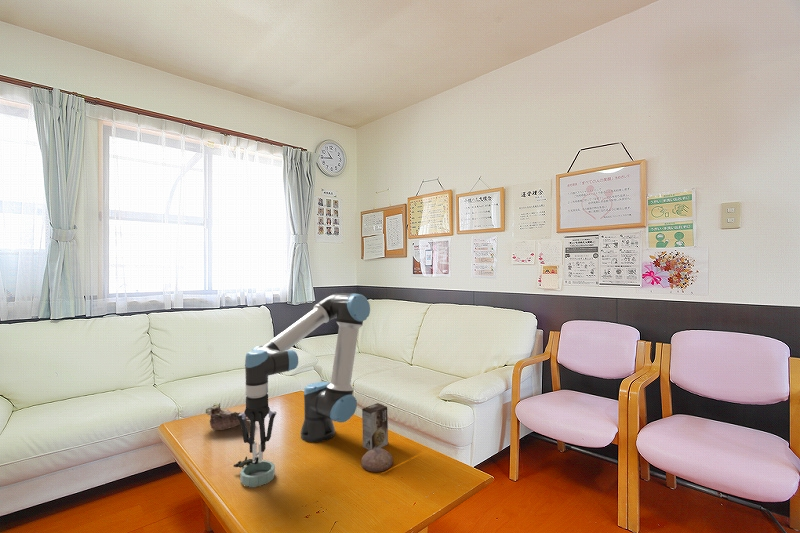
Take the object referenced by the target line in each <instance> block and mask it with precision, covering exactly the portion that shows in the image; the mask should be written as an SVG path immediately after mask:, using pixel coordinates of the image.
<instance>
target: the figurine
mask: <svg viewBox="0 0 800 533" xmlns="http://www.w3.org/2000/svg"><path fill="white" fill-rule="evenodd" d="M256 459H257V460H256ZM255 460H256V462H255V463H253V461H255ZM255 460H253V458H248V456H245V458H244V460H243V461H242V460H239V461H238V462H237V463H235V464H233V467H234V468H240V469H242V468H243V467H244V466H246V465H248V464H257V463H258V461H259V451H257V455H256V458H255Z"/></svg>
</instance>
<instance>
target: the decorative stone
mask: <svg viewBox="0 0 800 533" xmlns="http://www.w3.org/2000/svg"><path fill="white" fill-rule="evenodd" d="M393 460H394V459H393V456H392V454H391V453H390V452H389V451H388V450H387V449H384V448H383V447H381V448H374V449H371V450H367V451H366V452H365V454H363V455H362V457H361V460H360V462H361V467H362V468H363V469H364V470H366V471H368V472H373V473H375V472H384V471H386V470H388V469H389V468H391V467H392V466H393V462H394V461H393Z"/></svg>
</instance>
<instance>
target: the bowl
mask: <svg viewBox="0 0 800 533" xmlns="http://www.w3.org/2000/svg"><path fill="white" fill-rule="evenodd" d="M275 469H276V465H275V463H274V462H273V461H270V460H264V459H262V461H261V463H259V460H258V463H257V464H248V465H244V467H241V470H240V472H239V476H240V477H239V480H240V484H241V483H242V484H243V485H245V486H249V487H248V488H257V487H256V486H259V487H262V486H261V485H263V484H265V485H267V484H269V483H270V481H271V480H272V479H273V480H274V479H275V474H276V470H275ZM273 480H272V481H273ZM272 481H271V482H272ZM268 482H269V483H268ZM266 483H267V484H266ZM242 484H241V485H242ZM243 485H242V486H243ZM245 486H244V487H245ZM263 486H264V485H263Z"/></svg>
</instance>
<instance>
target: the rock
mask: <svg viewBox="0 0 800 533" xmlns="http://www.w3.org/2000/svg"><path fill="white" fill-rule="evenodd" d="M241 413H242V412H236V411H234V412H233V411H231V410H229V409H227V408H221V402H220V403H213V406H211V407H207V408H206V409H205V414H207V416H210V419H209V425H210V427H211V429H212V430H213V431H218V430H219V431H222V430H226V429H227V430H228V429H231V428H235V427H237V426H240V425H241V424H240V422H239V420H238V418H237V417H238V416H239V414H241ZM245 419H246V421H250V420H249V419H248V417H247V416H246V418H245Z"/></svg>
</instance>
